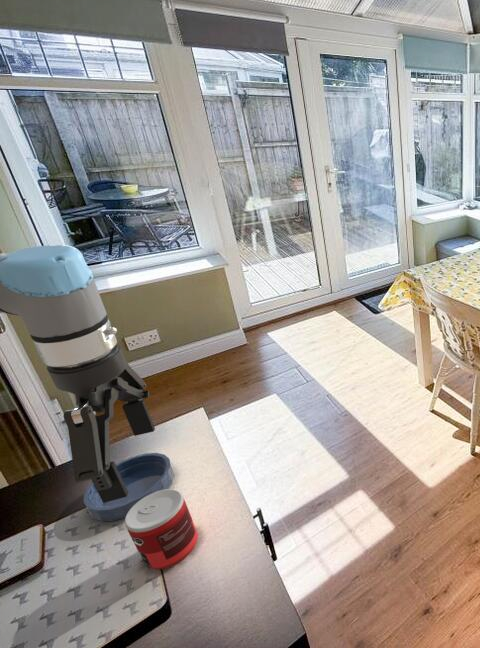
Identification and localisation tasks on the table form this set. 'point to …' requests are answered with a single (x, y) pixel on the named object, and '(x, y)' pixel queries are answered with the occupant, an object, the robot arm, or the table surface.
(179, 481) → the table surface
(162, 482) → the bowl
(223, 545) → the table surface
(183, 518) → the canned food
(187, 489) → the table surface
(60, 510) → the table surface
